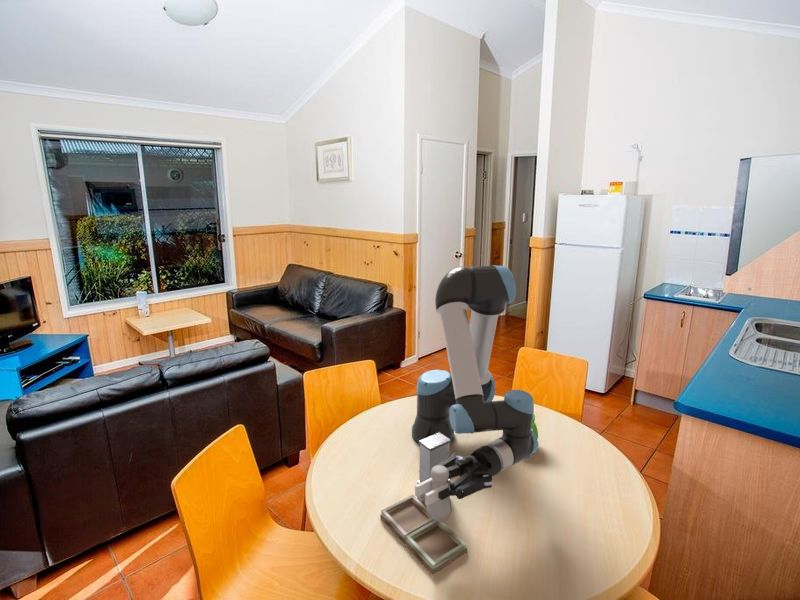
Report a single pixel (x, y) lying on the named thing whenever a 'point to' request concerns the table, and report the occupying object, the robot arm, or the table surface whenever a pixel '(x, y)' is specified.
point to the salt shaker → (439, 507)
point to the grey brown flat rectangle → (423, 534)
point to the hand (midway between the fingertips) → (421, 495)
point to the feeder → (432, 457)
